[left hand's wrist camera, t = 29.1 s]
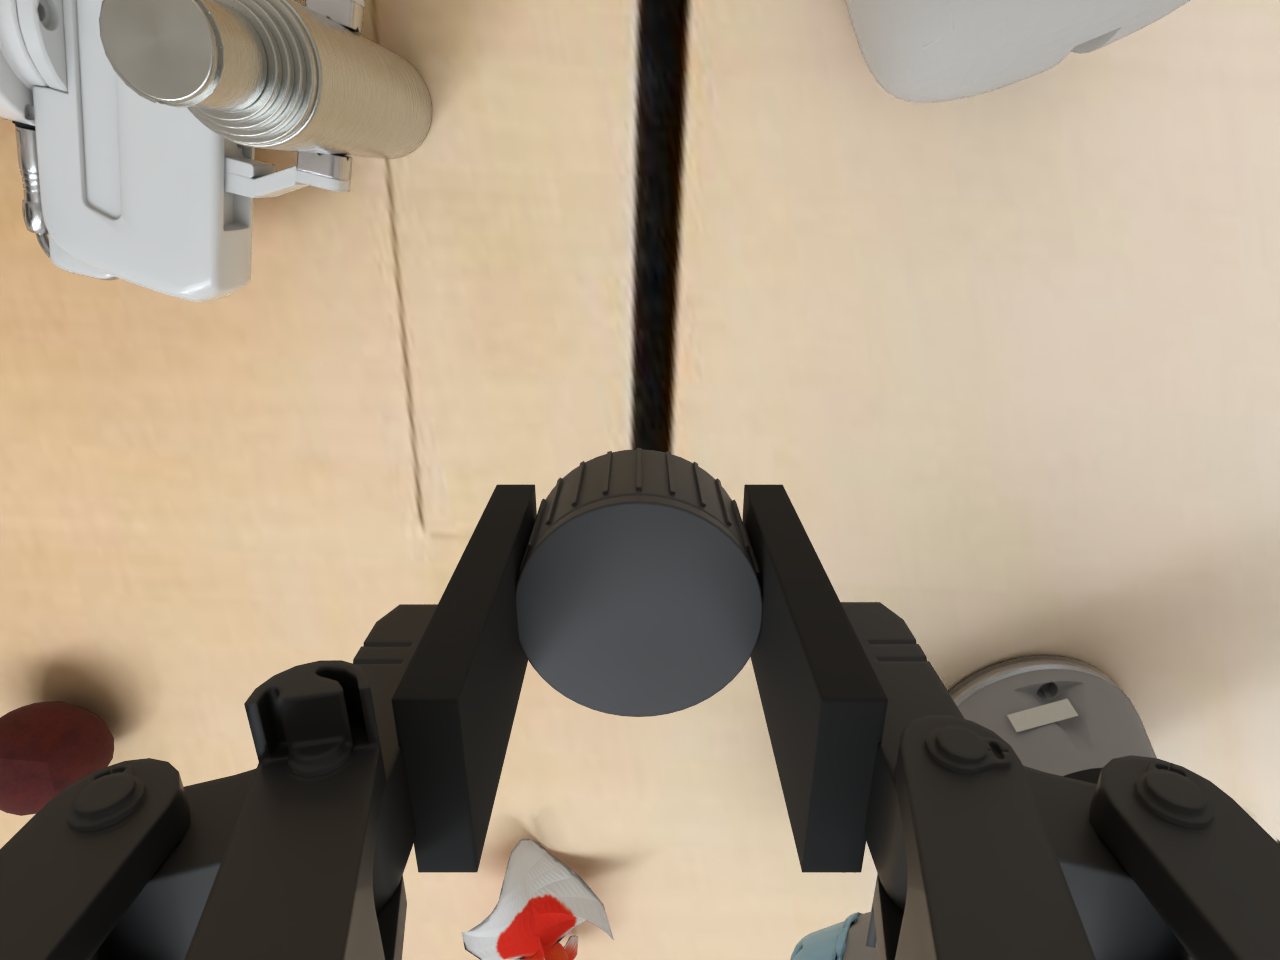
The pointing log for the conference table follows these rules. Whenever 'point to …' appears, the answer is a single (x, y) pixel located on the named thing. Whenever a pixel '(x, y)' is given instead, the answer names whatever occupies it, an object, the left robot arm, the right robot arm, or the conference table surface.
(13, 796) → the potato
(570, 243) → the conference table surface
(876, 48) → the projector
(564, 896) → the fish
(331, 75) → the bottle
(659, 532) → the cap
